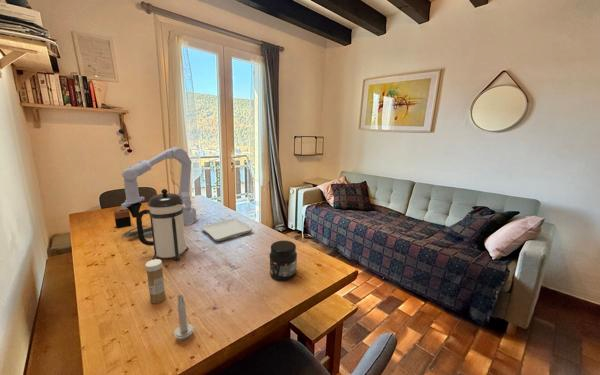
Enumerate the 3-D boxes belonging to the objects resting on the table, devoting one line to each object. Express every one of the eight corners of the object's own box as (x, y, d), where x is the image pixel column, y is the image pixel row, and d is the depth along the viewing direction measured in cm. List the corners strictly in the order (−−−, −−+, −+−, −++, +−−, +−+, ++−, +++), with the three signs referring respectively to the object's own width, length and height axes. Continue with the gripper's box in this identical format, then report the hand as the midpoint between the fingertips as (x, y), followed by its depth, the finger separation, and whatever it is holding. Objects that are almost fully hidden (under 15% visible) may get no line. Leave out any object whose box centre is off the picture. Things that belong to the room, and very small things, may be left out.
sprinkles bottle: (147, 299, 81) (142, 262, 78) (162, 293, 85) (158, 257, 82) (153, 306, 78) (148, 267, 75) (168, 299, 82) (164, 262, 79)
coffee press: (181, 243, 121) (175, 183, 114) (195, 255, 110) (189, 189, 103) (140, 255, 109) (131, 188, 102) (151, 270, 98) (141, 196, 91)
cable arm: (156, 229, 134) (155, 222, 133) (159, 230, 132) (158, 224, 131) (127, 237, 124) (126, 230, 123) (129, 239, 122) (128, 232, 121)
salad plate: (216, 245, 120) (215, 238, 120) (199, 231, 136) (199, 225, 135) (254, 234, 134) (254, 228, 133) (235, 222, 150) (235, 217, 149)
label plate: (165, 228, 139) (165, 225, 139) (150, 237, 126) (150, 235, 126) (139, 227, 140) (139, 224, 139) (122, 236, 127) (121, 234, 127)
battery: (131, 225, 141) (129, 209, 139) (116, 228, 137) (114, 211, 135) (130, 223, 144) (128, 207, 142) (115, 226, 140) (113, 209, 138)
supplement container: (271, 266, 103) (271, 239, 100) (297, 267, 102) (297, 240, 100) (267, 281, 92) (267, 251, 90) (296, 282, 92) (296, 252, 89)
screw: (197, 336, 67) (179, 347, 64) (189, 327, 71) (171, 337, 67) (193, 294, 64) (174, 303, 61) (185, 286, 68) (166, 295, 64)
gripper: (134, 188, 135) (137, 212, 138) (113, 195, 121) (117, 221, 124) (146, 188, 135) (149, 212, 138) (127, 195, 121) (131, 222, 124)
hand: (135, 217), depth 131 cm, fingers closed
